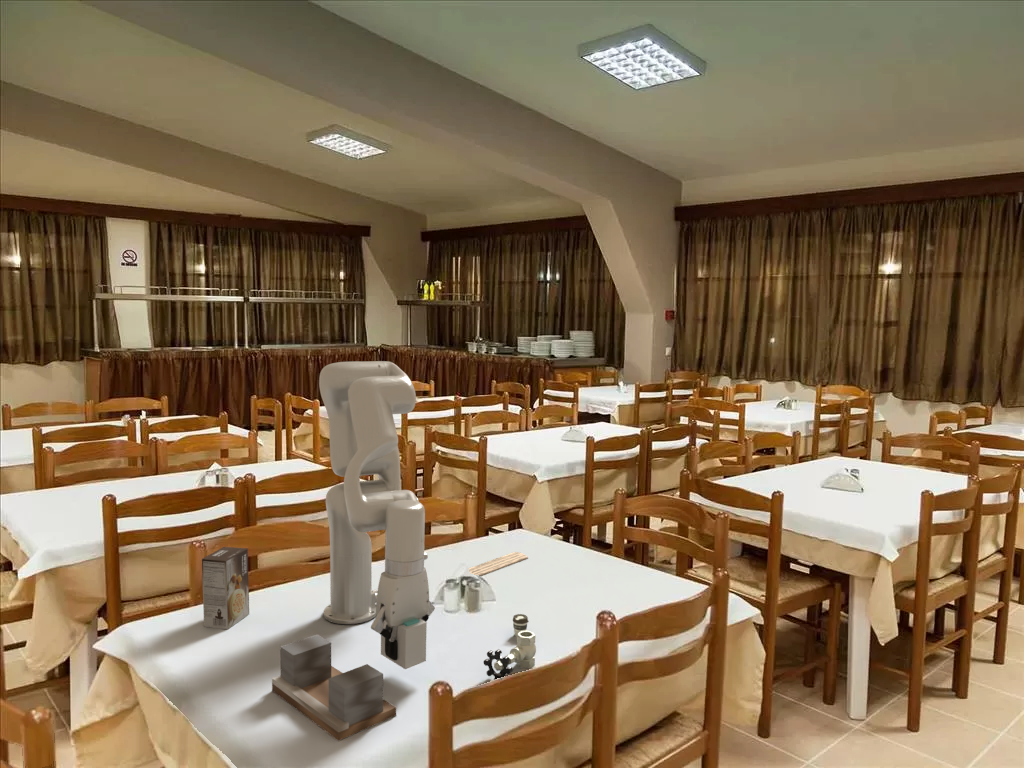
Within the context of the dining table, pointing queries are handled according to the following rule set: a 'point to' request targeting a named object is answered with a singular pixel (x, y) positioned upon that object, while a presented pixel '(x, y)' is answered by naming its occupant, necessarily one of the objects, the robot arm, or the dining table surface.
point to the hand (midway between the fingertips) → (403, 652)
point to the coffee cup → (520, 623)
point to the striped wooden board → (497, 563)
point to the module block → (409, 643)
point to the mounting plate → (330, 689)
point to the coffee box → (225, 587)
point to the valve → (513, 656)
